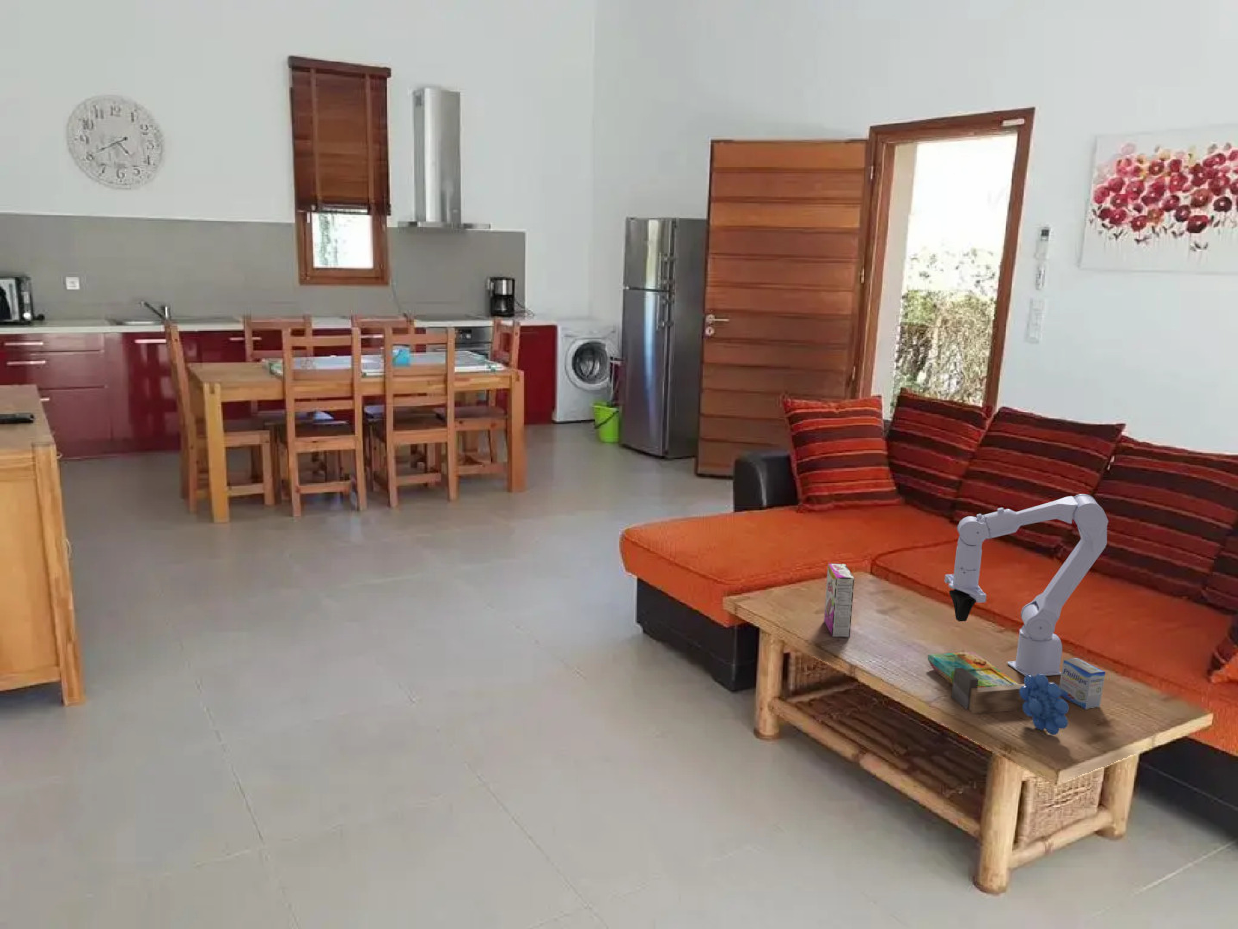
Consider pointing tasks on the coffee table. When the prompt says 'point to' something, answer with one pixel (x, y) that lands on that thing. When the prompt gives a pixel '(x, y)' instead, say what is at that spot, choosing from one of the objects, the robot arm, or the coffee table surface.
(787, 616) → the coffee table surface
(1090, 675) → the medicine box
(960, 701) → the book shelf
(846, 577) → the candy bar box
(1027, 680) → the grapes
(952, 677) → the puzzle game
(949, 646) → the coffee table surface
